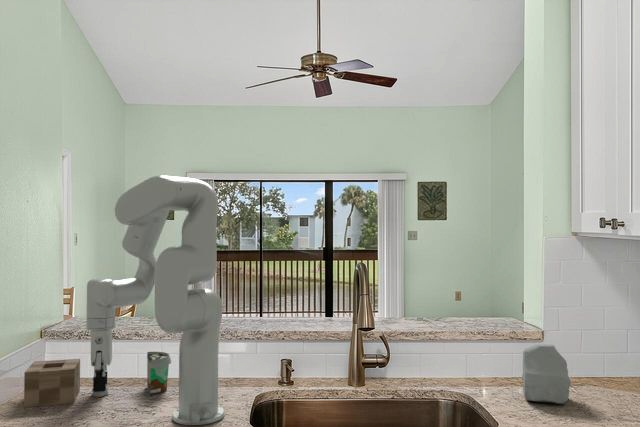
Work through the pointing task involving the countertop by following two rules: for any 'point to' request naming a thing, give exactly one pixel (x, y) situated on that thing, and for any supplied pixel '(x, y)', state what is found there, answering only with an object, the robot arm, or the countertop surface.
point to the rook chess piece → (102, 393)
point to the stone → (545, 374)
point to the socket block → (52, 382)
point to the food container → (157, 372)
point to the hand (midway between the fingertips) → (100, 388)
